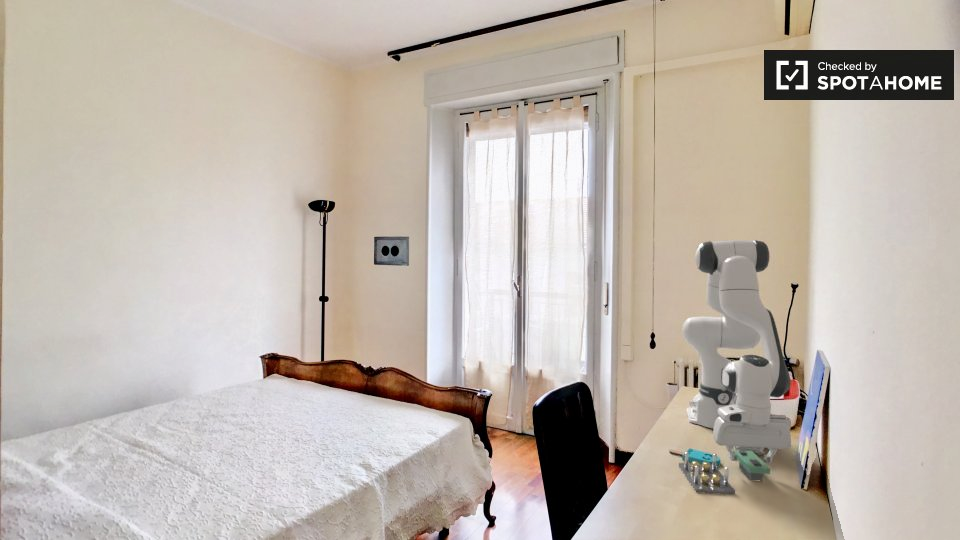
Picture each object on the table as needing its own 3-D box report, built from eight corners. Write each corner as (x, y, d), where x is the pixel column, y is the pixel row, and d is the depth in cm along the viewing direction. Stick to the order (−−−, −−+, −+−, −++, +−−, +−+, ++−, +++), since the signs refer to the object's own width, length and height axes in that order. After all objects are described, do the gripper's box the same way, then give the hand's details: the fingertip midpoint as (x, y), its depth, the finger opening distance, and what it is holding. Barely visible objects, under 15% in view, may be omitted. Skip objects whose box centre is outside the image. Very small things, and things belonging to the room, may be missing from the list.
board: (732, 454, 156) (732, 448, 156) (751, 455, 156) (752, 449, 155) (749, 472, 144) (749, 465, 144) (770, 474, 144) (770, 466, 144)
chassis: (678, 466, 155) (679, 447, 154) (713, 467, 154) (714, 449, 154) (695, 492, 139) (696, 471, 139) (735, 494, 138) (736, 474, 138)
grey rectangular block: (739, 467, 154) (739, 458, 154) (749, 468, 154) (750, 458, 154) (750, 480, 146) (750, 469, 146) (761, 481, 146) (762, 470, 146)
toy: (672, 443, 168) (723, 456, 159) (672, 449, 168) (722, 462, 159) (665, 450, 162) (717, 464, 153) (665, 456, 162) (716, 470, 153)
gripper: (785, 411, 151) (783, 458, 152) (712, 408, 153) (710, 454, 154) (796, 419, 145) (794, 468, 145) (719, 415, 147) (717, 463, 147)
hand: (750, 461), depth 149 cm, fingers open, 8 cm apart
